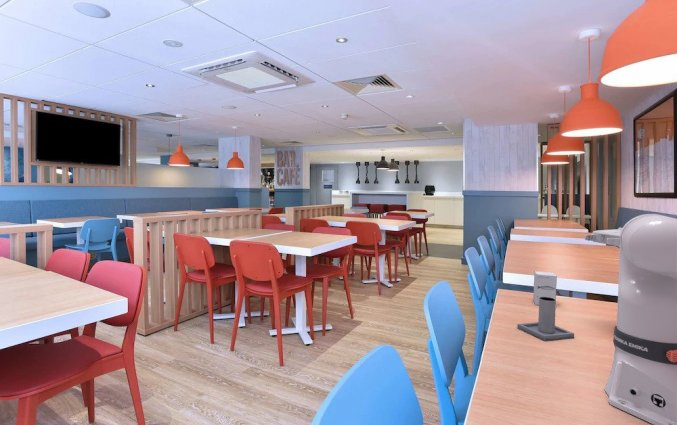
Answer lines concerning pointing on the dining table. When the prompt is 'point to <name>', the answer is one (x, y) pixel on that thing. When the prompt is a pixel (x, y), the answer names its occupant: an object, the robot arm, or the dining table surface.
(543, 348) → the dining table surface
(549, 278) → the supplement box
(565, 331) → the tray
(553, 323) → the grey cylindrical container
